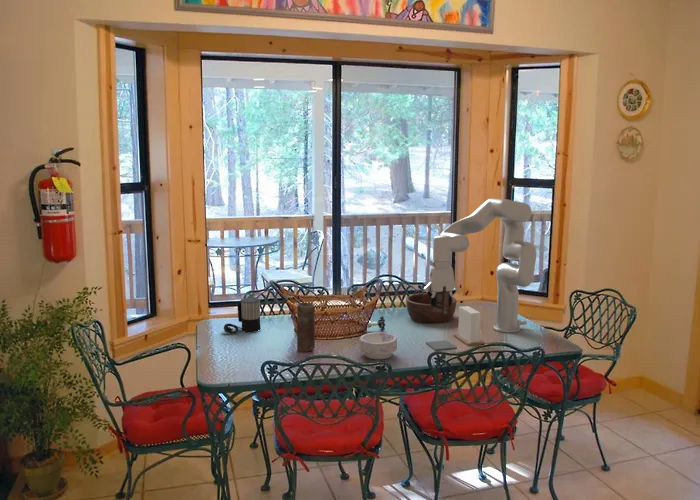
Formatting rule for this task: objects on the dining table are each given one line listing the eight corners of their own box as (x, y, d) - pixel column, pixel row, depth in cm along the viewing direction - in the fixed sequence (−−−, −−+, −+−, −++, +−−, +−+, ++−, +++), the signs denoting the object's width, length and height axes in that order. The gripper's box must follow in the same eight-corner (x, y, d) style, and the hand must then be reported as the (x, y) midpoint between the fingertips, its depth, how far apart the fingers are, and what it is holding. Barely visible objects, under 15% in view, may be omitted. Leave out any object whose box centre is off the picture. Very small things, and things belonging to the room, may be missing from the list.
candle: (306, 346, 258) (305, 300, 255) (318, 349, 253) (318, 303, 250) (293, 350, 252) (292, 304, 249) (306, 354, 247) (305, 307, 244)
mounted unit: (469, 335, 273) (470, 305, 271) (484, 344, 260) (485, 313, 258) (453, 336, 271) (454, 306, 269) (467, 345, 258) (468, 314, 256)
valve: (360, 333, 276) (385, 332, 279) (360, 319, 275) (385, 318, 278) (356, 329, 282) (381, 328, 285) (356, 316, 281) (381, 314, 284)
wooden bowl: (404, 311, 314) (404, 292, 313) (452, 312, 313) (453, 293, 312) (407, 325, 289) (407, 304, 288) (459, 325, 288) (459, 305, 287)
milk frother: (265, 329, 283) (264, 298, 281) (244, 338, 269) (243, 305, 267) (241, 325, 290) (240, 295, 287) (219, 333, 276) (218, 302, 274)
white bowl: (352, 356, 245) (352, 337, 243) (375, 347, 256) (375, 329, 255) (381, 365, 235) (381, 345, 233) (404, 355, 246) (404, 336, 245)
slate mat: (446, 341, 264) (446, 340, 264) (456, 348, 254) (456, 347, 254) (425, 343, 261) (425, 342, 261) (434, 350, 252) (434, 349, 252)
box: (449, 312, 256) (450, 285, 254) (443, 314, 253) (444, 286, 251) (438, 310, 261) (438, 283, 259) (431, 312, 257) (432, 284, 255)
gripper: (425, 267, 248) (425, 309, 251) (464, 265, 252) (463, 306, 255) (419, 264, 255) (418, 305, 258) (457, 262, 259) (456, 302, 262)
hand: (440, 305), depth 256 cm, fingers closed on box, 6 cm apart
